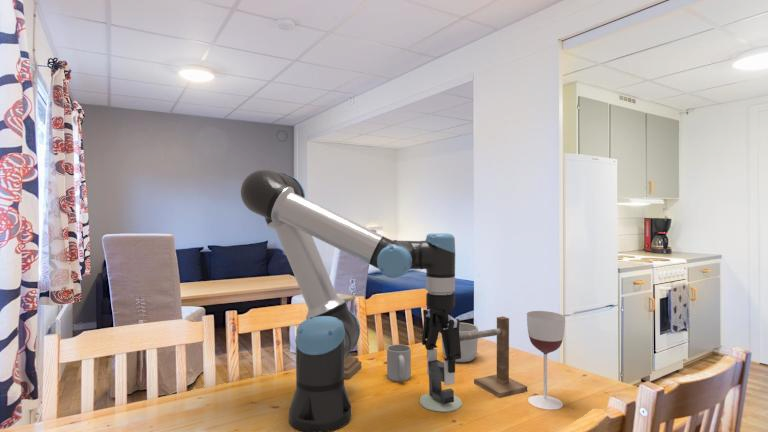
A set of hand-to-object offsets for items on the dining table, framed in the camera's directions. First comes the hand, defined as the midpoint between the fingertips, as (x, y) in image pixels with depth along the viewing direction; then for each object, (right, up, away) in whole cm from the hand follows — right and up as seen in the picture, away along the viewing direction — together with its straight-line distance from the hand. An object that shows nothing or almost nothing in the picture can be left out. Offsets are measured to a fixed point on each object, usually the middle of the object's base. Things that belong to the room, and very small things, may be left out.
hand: (440, 378), depth 115 cm
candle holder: (-29, -6, +23) cm, 37 cm away
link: (0, -5, 0) cm, 5 cm away
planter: (+11, -6, +34) cm, 37 cm away
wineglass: (+28, -7, 0) cm, 28 cm away
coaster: (0, -6, 0) cm, 6 cm away
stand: (+14, -6, +8) cm, 17 cm away
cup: (-10, -6, +16) cm, 20 cm away
